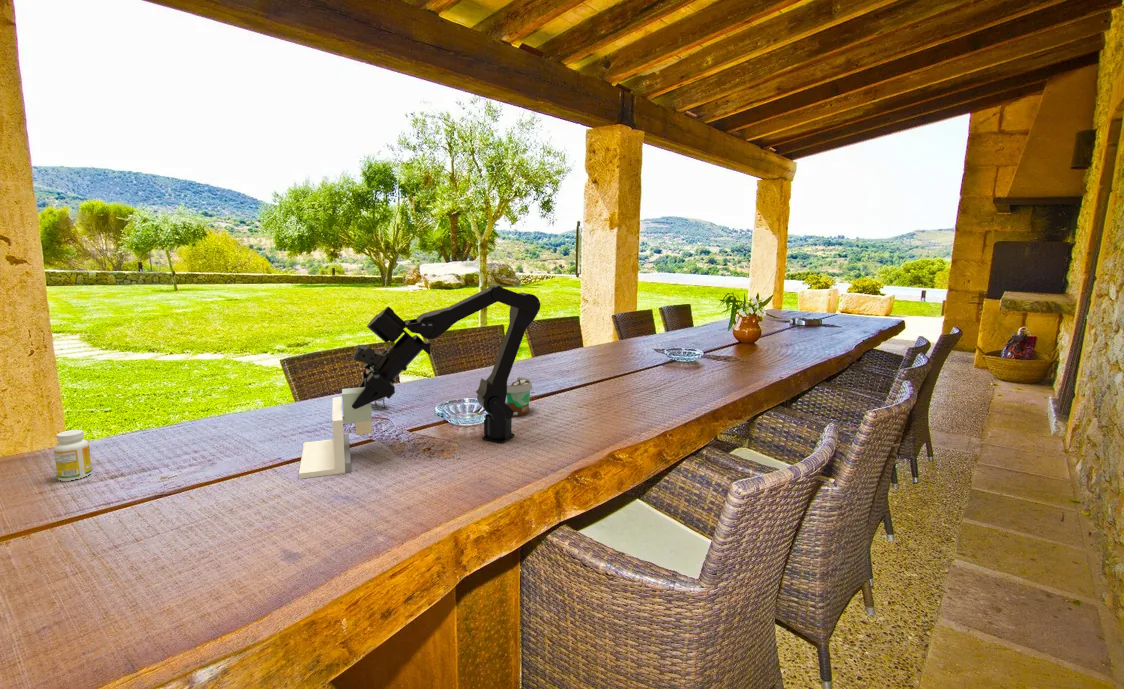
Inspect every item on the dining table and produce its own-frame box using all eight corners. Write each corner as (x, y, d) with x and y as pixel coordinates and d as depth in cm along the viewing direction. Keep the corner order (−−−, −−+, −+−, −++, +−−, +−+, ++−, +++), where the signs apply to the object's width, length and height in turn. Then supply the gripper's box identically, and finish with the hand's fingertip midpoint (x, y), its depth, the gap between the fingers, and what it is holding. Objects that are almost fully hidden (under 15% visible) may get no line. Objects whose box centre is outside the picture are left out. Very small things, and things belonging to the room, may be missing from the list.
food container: (526, 420, 153) (526, 387, 151) (506, 418, 154) (506, 385, 152) (536, 408, 165) (536, 377, 163) (517, 407, 166) (518, 376, 164)
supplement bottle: (67, 483, 106) (60, 438, 104) (52, 479, 108) (45, 434, 106) (98, 474, 111) (92, 430, 109) (83, 469, 112) (77, 427, 111)
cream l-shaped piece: (348, 442, 132) (346, 396, 130) (351, 472, 114) (348, 419, 112) (304, 447, 128) (301, 399, 126) (299, 478, 110) (295, 424, 108)
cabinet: (372, 426, 126) (370, 386, 125) (373, 433, 122) (371, 391, 120) (344, 429, 124) (341, 388, 122) (344, 436, 119) (342, 394, 118)
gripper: (371, 327, 129) (325, 374, 127) (376, 338, 112) (323, 393, 110) (405, 356, 134) (361, 402, 131) (415, 371, 117) (365, 424, 114)
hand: (352, 404), depth 121 cm, fingers closed on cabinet, 5 cm apart
